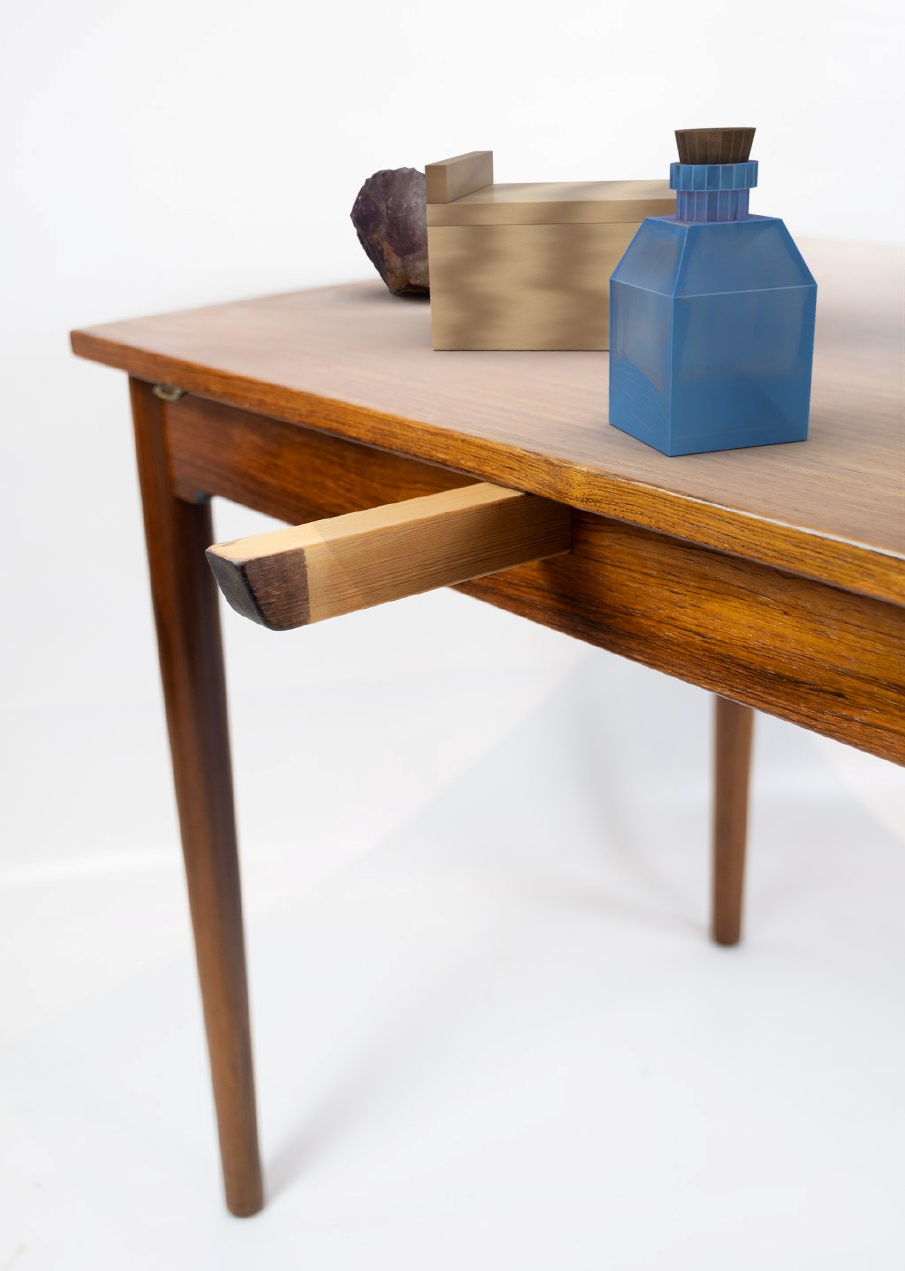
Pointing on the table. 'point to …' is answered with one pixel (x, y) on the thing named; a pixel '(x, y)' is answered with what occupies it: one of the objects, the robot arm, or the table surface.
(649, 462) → the table surface
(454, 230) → the wooden box with backstop
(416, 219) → the rock
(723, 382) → the perfume bottle
